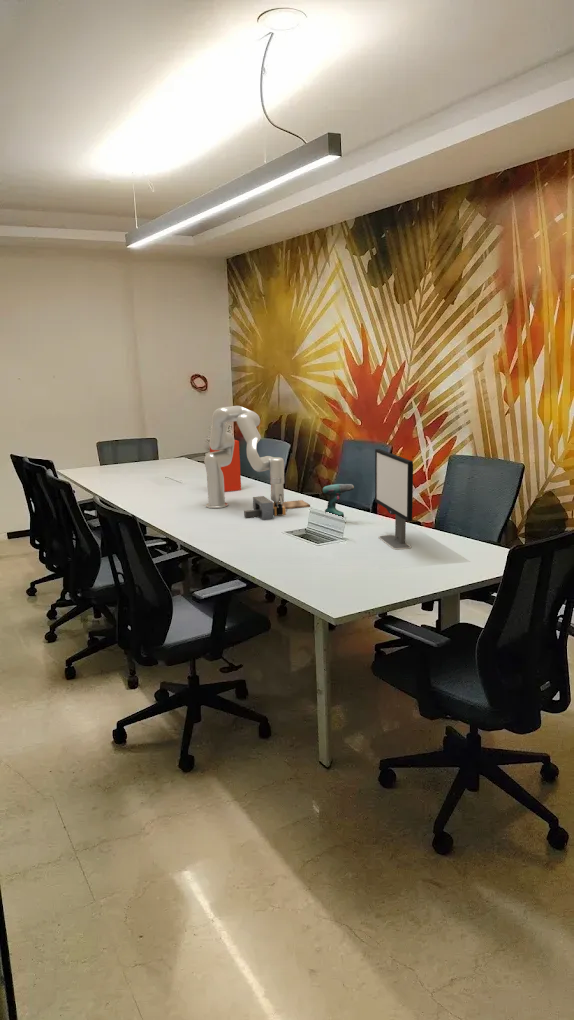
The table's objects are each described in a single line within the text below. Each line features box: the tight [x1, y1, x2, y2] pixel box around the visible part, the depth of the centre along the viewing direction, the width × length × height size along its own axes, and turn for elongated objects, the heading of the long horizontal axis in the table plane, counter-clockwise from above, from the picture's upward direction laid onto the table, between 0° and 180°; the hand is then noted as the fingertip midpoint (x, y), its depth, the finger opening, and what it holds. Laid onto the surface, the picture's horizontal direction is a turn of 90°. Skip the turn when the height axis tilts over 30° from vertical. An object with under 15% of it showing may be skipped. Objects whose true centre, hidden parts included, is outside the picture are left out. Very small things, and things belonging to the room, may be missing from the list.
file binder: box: [209, 439, 242, 493], centre depth 419 cm, size 8×17×32 cm, turn 111°
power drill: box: [322, 483, 355, 518], centre depth 332 cm, size 7×16×20 cm, turn 70°
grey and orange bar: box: [243, 506, 288, 519], centre depth 352 cm, size 23×4×4 cm, turn 108°
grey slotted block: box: [252, 495, 274, 521], centre depth 351 cm, size 6×18×9 cm, turn 18°
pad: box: [273, 499, 311, 510], centre depth 372 cm, size 26×14×1 cm, turn 108°
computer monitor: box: [374, 448, 414, 551], centre depth 290 cm, size 41×8×40 cm, turn 12°
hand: (278, 513), depth 354 cm, fingers closed on grey and orange bar, 4 cm apart
